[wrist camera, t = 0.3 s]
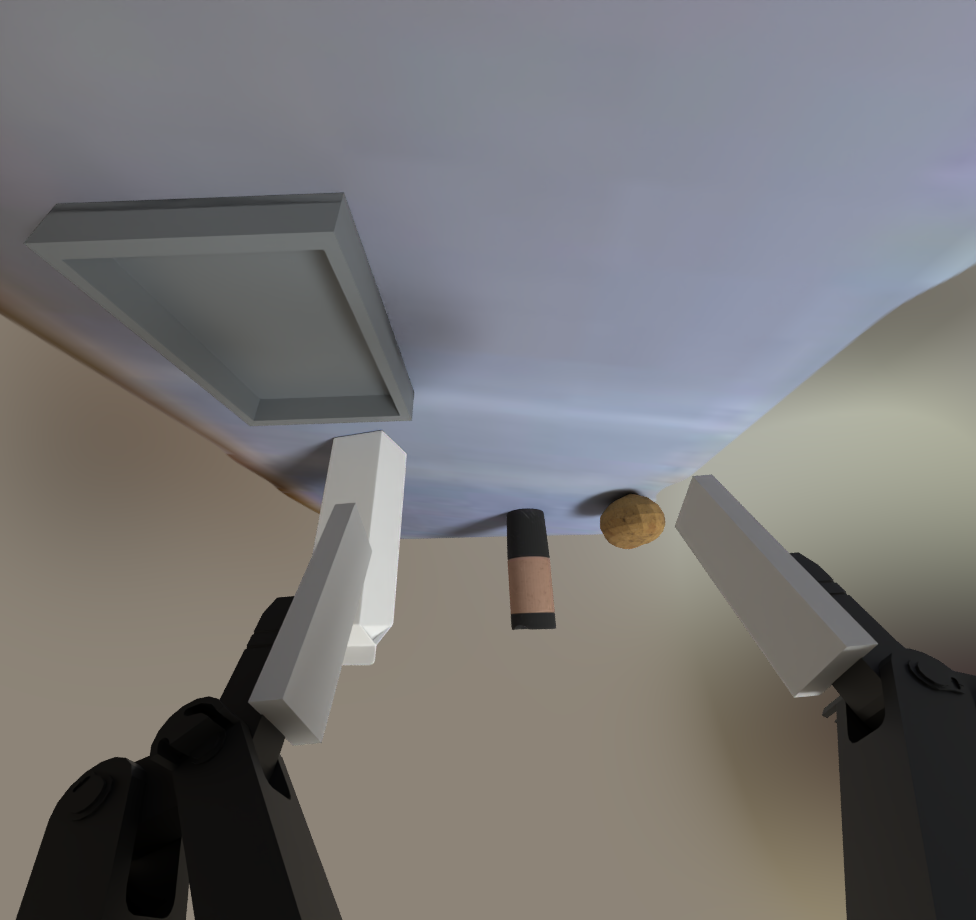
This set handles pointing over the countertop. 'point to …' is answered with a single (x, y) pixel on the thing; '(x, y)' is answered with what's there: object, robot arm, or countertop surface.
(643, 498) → the potato
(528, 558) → the travel mug
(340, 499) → the milk
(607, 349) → the countertop surface
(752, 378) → the countertop surface
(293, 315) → the tray
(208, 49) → the countertop surface
